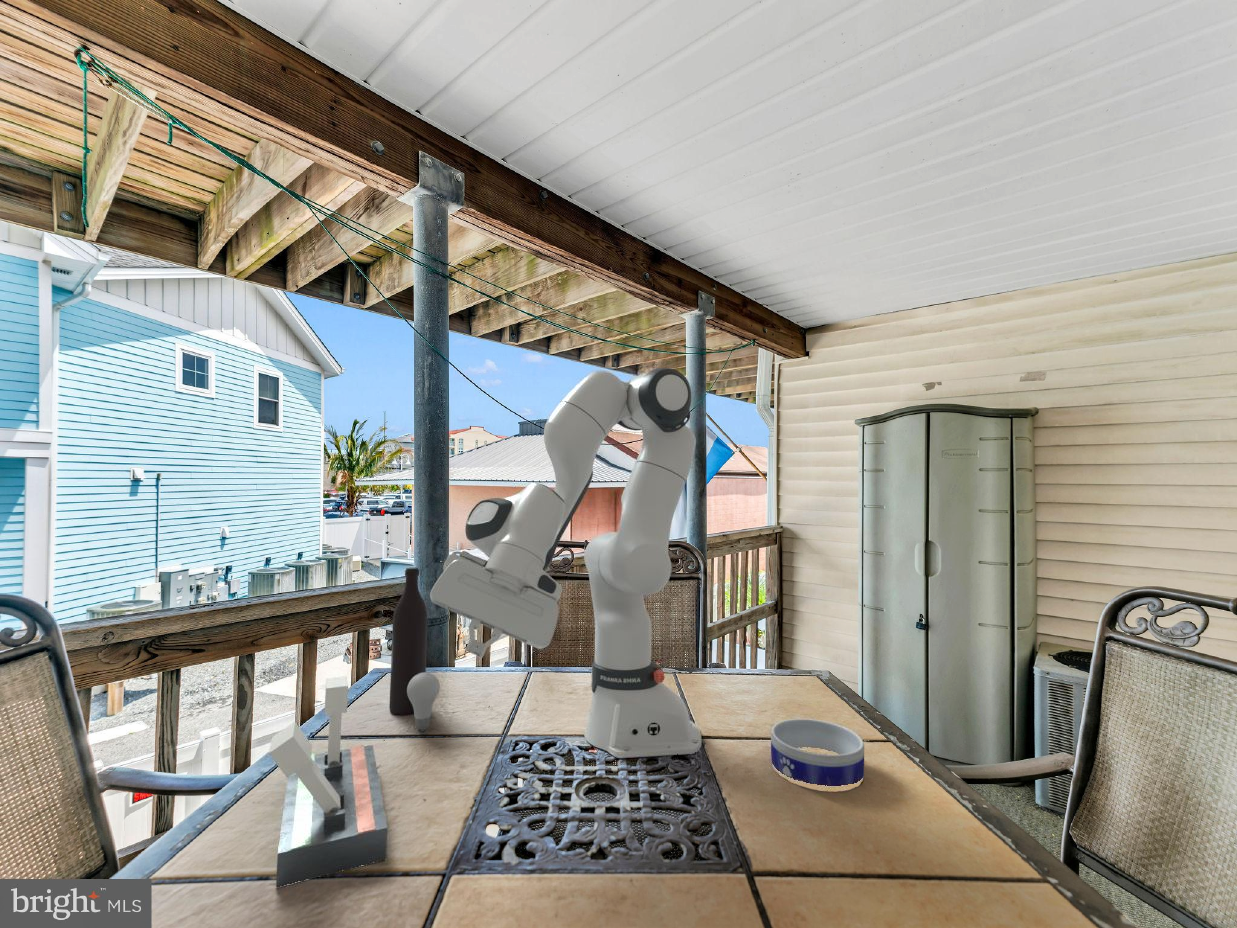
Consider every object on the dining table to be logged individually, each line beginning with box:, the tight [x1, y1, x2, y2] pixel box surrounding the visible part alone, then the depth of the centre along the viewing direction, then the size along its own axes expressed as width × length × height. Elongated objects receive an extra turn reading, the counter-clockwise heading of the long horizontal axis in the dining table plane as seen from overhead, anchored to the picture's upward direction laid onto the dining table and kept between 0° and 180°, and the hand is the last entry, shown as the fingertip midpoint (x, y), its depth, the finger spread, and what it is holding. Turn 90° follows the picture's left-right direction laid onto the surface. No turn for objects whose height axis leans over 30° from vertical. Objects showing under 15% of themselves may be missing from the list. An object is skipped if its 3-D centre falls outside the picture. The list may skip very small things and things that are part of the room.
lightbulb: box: [407, 671, 441, 731], centre depth 111 cm, size 6×6×11 cm
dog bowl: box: [770, 718, 865, 786], centre depth 98 cm, size 15×15×6 cm
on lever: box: [268, 721, 340, 813], centre depth 74 cm, size 3×5×13 cm
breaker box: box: [275, 744, 388, 888], centre depth 81 cm, size 12×26×5 cm, turn 27°
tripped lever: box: [324, 675, 349, 765], centre depth 87 cm, size 3×5×13 cm, turn 27°
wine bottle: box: [388, 566, 429, 716], centre depth 122 cm, size 7×7×30 cm
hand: (473, 653), depth 86 cm, fingers closed
